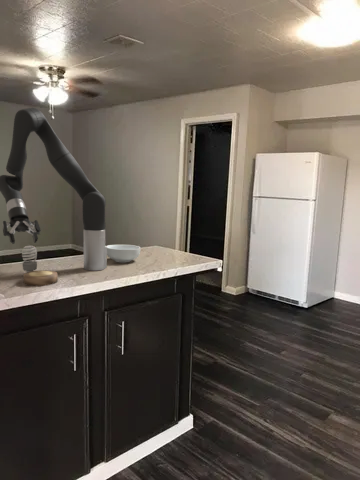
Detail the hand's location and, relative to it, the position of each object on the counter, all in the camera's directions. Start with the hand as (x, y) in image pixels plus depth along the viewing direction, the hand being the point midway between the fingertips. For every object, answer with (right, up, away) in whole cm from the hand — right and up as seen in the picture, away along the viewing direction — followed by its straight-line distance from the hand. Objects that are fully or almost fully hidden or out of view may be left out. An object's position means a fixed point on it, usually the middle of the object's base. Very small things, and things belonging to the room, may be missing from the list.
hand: (24, 242), depth 160 cm
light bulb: (+4, -13, -4) cm, 14 cm away
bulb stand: (+11, -15, -13) cm, 22 cm away
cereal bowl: (+35, -9, +31) cm, 48 cm away
